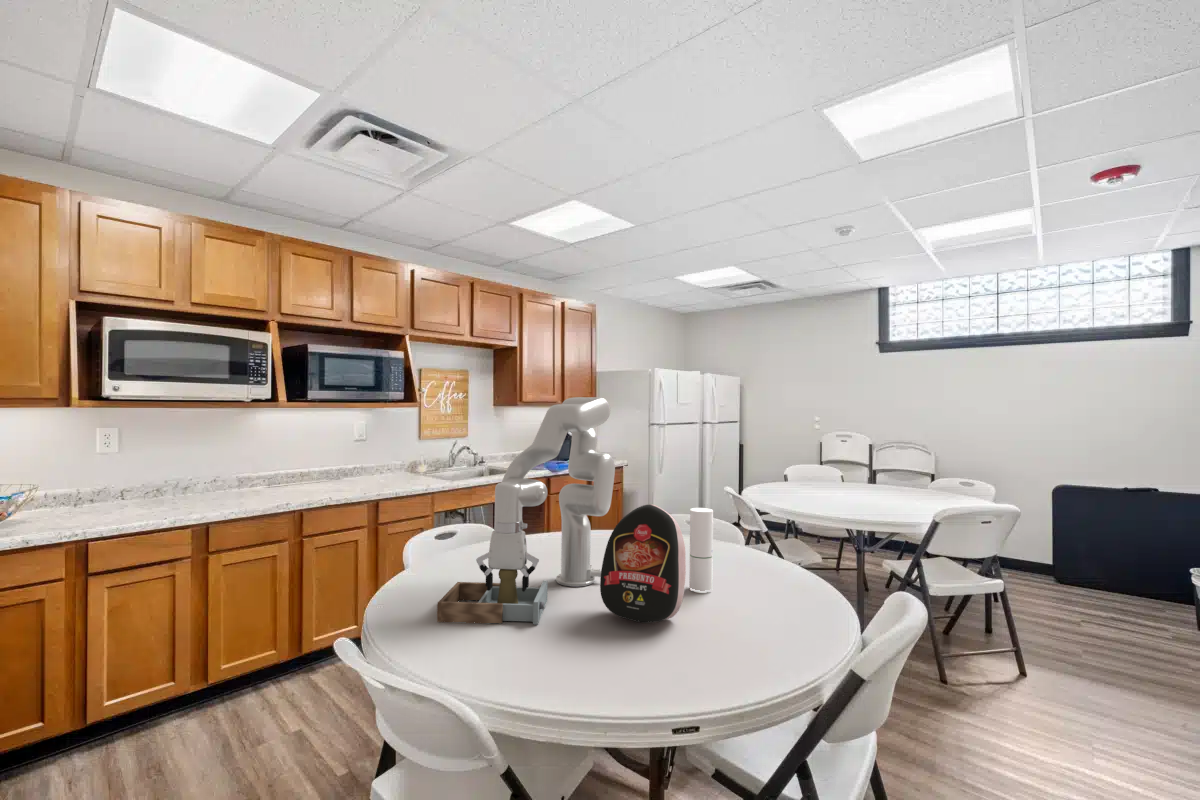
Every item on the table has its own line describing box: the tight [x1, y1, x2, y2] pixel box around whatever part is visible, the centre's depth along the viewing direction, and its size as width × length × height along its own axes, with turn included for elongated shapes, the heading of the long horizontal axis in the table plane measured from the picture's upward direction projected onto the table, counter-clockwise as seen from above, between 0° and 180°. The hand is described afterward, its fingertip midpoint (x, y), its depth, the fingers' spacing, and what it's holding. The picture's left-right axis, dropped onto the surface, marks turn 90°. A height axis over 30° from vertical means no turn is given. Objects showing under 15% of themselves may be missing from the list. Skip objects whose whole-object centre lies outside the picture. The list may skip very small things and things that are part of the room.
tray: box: [477, 580, 549, 625], centre depth 147 cm, size 18×18×6 cm
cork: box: [497, 569, 519, 604], centre depth 148 cm, size 6×6×11 cm
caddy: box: [436, 581, 503, 624], centre depth 148 cm, size 17×17×5 cm
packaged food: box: [599, 503, 687, 624], centre depth 145 cm, size 22×20×30 cm
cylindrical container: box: [688, 507, 714, 591], centre depth 168 cm, size 7×7×25 cm
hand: (507, 589), depth 147 cm, fingers open, 9 cm apart
